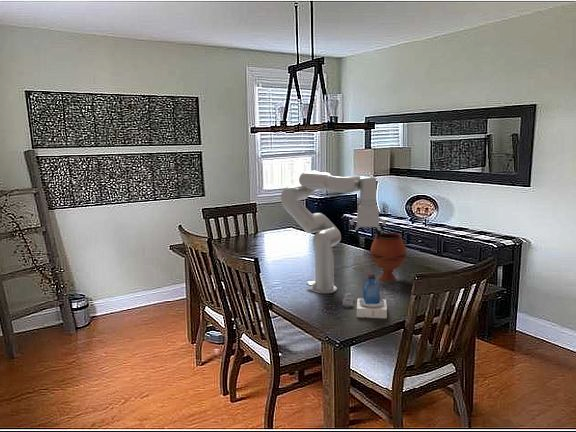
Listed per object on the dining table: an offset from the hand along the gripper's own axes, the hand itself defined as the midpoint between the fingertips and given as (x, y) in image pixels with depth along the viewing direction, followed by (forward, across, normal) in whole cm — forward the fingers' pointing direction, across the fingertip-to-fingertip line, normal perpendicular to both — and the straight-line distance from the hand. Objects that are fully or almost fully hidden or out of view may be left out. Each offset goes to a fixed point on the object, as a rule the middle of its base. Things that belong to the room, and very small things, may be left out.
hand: (367, 238), depth 225 cm
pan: (+26, +2, -18) cm, 32 cm away
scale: (+30, +2, -18) cm, 35 cm away
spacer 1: (+30, -9, -4) cm, 32 cm away
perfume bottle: (+25, +2, -18) cm, 31 cm away
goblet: (+31, +11, +32) cm, 46 cm away
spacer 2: (+30, -9, -11) cm, 34 cm away
